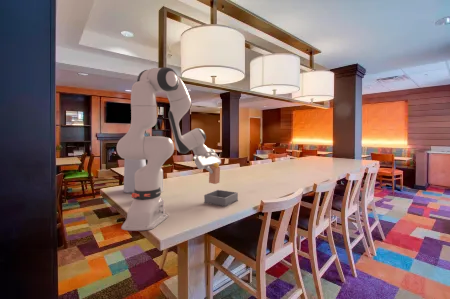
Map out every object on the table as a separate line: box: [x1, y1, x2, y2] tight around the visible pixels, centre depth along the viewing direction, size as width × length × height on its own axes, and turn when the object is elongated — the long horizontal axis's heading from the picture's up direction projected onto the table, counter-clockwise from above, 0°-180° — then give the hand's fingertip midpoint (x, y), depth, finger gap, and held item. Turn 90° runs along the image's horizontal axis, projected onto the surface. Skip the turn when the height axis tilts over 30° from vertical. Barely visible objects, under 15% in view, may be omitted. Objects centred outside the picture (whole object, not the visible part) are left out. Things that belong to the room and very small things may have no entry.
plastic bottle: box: [123, 159, 147, 194], centre depth 163 cm, size 15×15×28 cm
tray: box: [203, 189, 239, 207], centre depth 136 cm, size 14×14×5 cm
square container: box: [208, 166, 221, 185], centre depth 138 cm, size 4×4×10 cm
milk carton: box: [159, 168, 164, 193], centre depth 158 cm, size 7×7×19 cm
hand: (215, 172), depth 137 cm, fingers closed on square container, 4 cm apart
